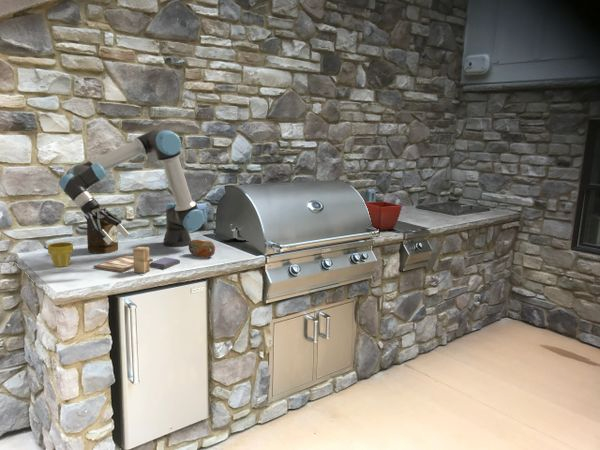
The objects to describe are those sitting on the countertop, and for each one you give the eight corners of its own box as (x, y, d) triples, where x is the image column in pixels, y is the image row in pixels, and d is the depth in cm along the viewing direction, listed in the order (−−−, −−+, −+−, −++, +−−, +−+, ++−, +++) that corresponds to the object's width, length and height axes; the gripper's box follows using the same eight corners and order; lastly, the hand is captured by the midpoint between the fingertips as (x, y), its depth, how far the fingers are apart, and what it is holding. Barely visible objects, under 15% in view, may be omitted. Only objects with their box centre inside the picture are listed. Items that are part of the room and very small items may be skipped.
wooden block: (139, 269, 224) (138, 246, 222) (149, 270, 223) (149, 247, 221) (133, 273, 220) (133, 249, 217) (144, 274, 219) (143, 250, 216)
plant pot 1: (50, 262, 230) (49, 242, 229) (74, 261, 234) (73, 241, 232) (47, 268, 221) (46, 247, 219) (73, 267, 225) (71, 246, 223)
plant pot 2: (400, 229, 334) (402, 205, 331) (378, 232, 324) (380, 207, 321) (382, 224, 350) (384, 201, 347) (361, 226, 341) (362, 202, 337)
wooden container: (119, 252, 252) (117, 210, 248) (87, 254, 247) (85, 211, 242) (117, 245, 266) (116, 205, 261) (88, 247, 260) (85, 206, 256)
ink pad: (164, 260, 241) (164, 256, 240) (179, 262, 238) (179, 258, 237) (148, 266, 230) (148, 262, 229) (164, 269, 227) (164, 265, 226)
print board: (126, 256, 245) (126, 254, 245) (152, 260, 239) (152, 258, 239) (93, 267, 225) (93, 265, 225) (121, 272, 219) (121, 269, 219)
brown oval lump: (188, 254, 253) (188, 238, 252) (192, 253, 256) (192, 237, 254) (212, 258, 247) (212, 242, 245) (216, 257, 250) (216, 241, 248)
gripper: (98, 205, 233) (128, 238, 233) (64, 213, 209) (97, 250, 209) (108, 194, 231) (138, 228, 231) (74, 202, 207) (108, 239, 207)
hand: (119, 239), depth 220 cm, fingers open, 13 cm apart
